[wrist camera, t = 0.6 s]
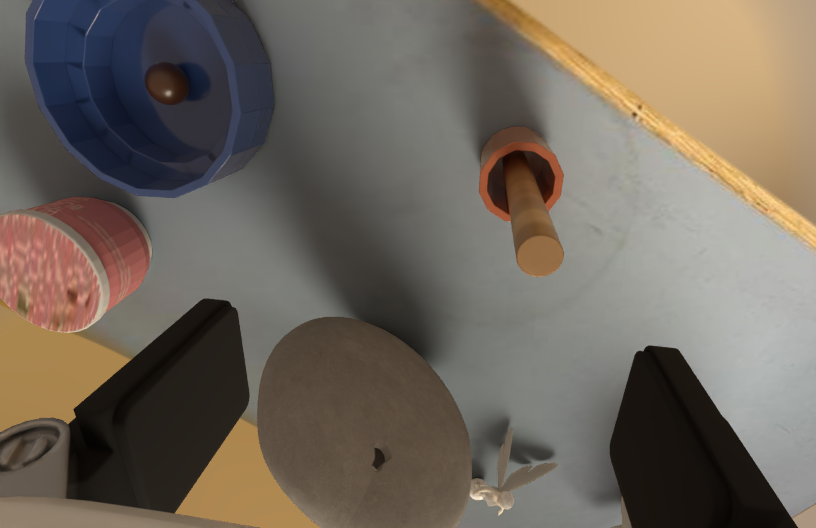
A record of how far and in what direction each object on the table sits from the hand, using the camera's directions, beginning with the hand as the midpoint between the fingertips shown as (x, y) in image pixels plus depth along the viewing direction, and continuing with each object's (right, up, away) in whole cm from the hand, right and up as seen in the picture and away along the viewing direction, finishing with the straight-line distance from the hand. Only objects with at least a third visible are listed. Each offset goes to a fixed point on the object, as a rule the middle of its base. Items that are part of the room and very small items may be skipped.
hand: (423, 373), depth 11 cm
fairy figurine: (+9, -18, +37) cm, 42 cm away
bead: (-18, +16, +23) cm, 34 cm away
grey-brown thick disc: (-1, -5, +33) cm, 33 cm away
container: (-28, +5, +33) cm, 43 cm away
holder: (+8, +10, +24) cm, 27 cm away
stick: (+8, +10, +23) cm, 27 cm away
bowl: (-18, +17, +25) cm, 35 cm away
